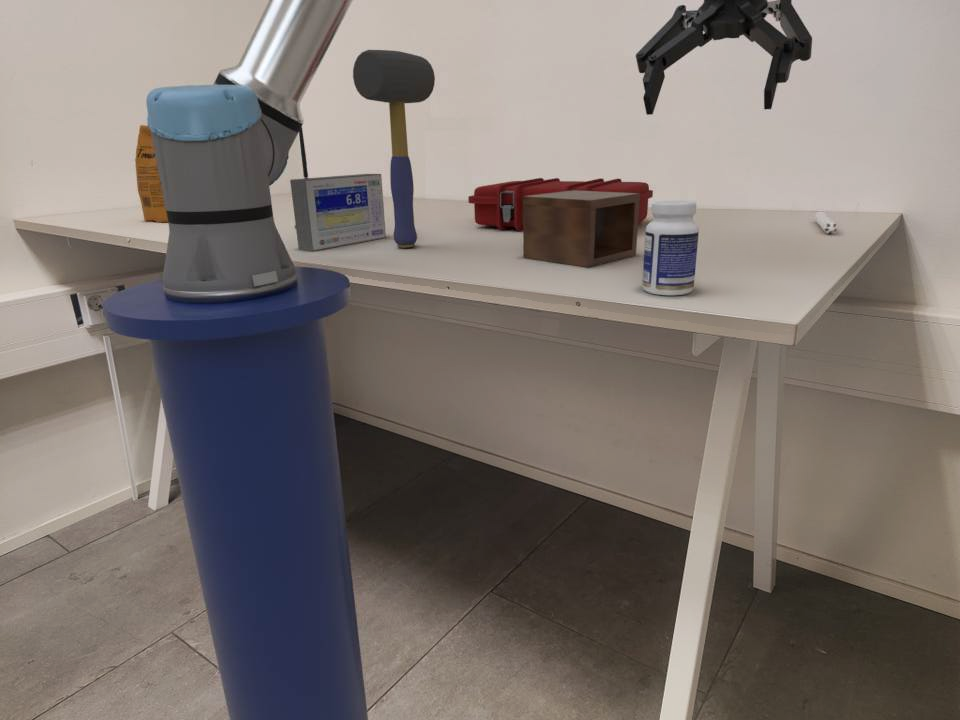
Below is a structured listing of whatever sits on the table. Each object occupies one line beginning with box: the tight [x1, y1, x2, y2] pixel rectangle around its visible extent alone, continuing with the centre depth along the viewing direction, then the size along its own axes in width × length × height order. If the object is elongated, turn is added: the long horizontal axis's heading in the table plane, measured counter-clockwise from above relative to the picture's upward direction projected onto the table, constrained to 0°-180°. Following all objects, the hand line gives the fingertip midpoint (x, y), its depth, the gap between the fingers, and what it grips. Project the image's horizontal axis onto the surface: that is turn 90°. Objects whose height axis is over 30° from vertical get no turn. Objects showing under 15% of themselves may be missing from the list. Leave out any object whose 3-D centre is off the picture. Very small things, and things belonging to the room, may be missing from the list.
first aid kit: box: [467, 177, 654, 232], centre depth 125 cm, size 32×23×9 cm
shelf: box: [522, 190, 640, 268], centre depth 91 cm, size 12×12×9 cm
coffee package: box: [134, 124, 168, 223], centre depth 148 cm, size 10×12×22 cm
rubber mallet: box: [352, 49, 436, 249], centre depth 100 cm, size 12×8×30 cm, turn 145°
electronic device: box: [289, 126, 387, 252], centre depth 108 cm, size 17×7×20 cm, turn 143°
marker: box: [814, 211, 838, 235], centre depth 113 cm, size 18×2×2 cm, turn 158°
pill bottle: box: [641, 200, 700, 296], centre depth 70 cm, size 6×6×10 cm
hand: (705, 103), depth 73 cm, fingers open, 13 cm apart
